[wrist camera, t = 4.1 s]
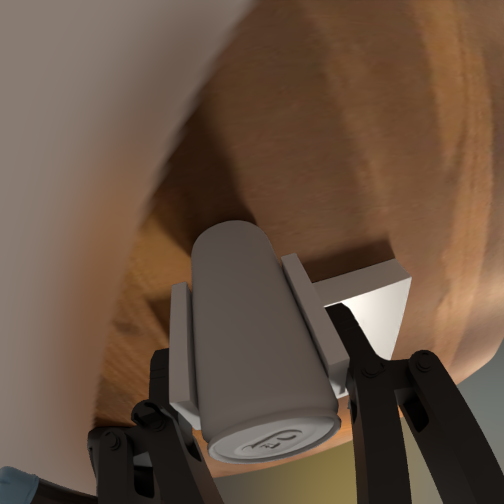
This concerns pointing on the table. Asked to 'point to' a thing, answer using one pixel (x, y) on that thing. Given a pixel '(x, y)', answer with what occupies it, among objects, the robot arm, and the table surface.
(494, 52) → the table surface
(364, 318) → the socket plate
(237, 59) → the table surface
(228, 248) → the beverage can
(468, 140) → the table surface
